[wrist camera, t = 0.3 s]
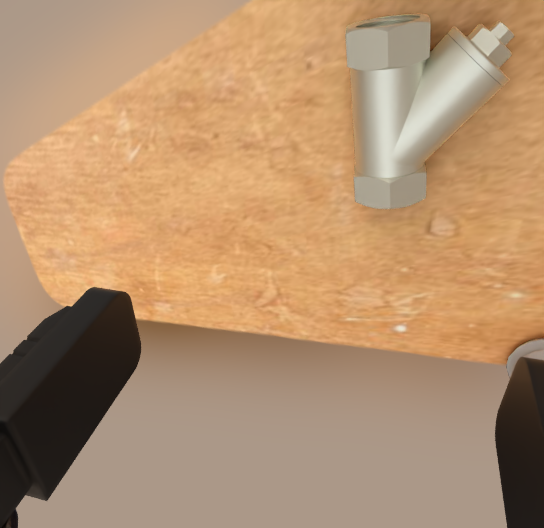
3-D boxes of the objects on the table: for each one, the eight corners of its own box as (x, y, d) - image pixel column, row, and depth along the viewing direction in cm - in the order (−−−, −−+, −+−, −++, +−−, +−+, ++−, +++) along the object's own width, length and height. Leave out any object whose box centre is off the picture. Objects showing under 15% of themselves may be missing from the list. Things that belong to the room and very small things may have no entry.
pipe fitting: (506, -2, 21) (348, 20, 22) (529, 8, 18) (343, 33, 19) (489, 172, 25) (357, 180, 26) (505, 205, 22) (354, 213, 23)
